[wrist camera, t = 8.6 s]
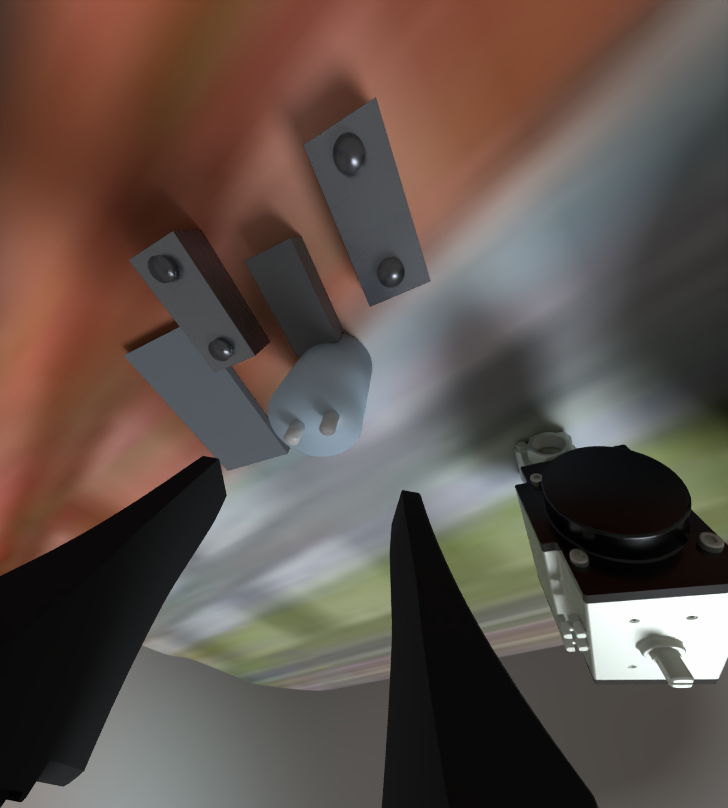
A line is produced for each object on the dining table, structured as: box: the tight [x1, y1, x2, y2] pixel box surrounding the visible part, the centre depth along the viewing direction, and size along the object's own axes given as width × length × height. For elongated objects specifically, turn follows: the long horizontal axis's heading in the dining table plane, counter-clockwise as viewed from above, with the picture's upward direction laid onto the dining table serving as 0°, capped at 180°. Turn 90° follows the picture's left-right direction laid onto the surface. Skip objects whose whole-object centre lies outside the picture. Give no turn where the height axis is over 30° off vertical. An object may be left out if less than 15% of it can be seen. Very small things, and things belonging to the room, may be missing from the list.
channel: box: [129, 97, 430, 373], centre depth 14 cm, size 6×13×3 cm, turn 114°
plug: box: [244, 236, 372, 457], centre depth 14 cm, size 9×4×7 cm, turn 22°
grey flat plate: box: [124, 327, 290, 471], centre depth 21 cm, size 11×6×1 cm, turn 24°
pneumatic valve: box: [514, 432, 728, 688], centre depth 15 cm, size 6×12×12 cm, turn 24°
